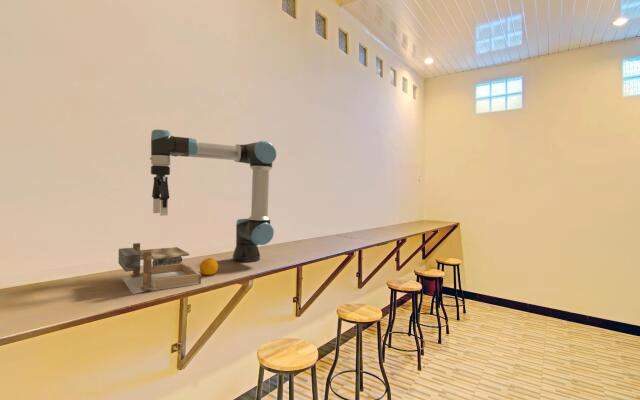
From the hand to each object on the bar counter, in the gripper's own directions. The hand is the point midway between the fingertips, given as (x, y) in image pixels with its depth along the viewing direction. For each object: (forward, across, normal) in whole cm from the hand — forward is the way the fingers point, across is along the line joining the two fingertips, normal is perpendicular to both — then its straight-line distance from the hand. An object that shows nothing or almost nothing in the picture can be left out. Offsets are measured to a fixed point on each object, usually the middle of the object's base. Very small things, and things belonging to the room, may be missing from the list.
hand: (160, 214), depth 147 cm
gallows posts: (+28, +8, -9) cm, 30 cm away
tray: (+28, +8, -2) cm, 29 cm away
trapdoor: (+20, +8, -4) cm, 22 cm away
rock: (+28, -13, +6) cm, 31 cm away
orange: (+28, +7, +19) cm, 35 cm away
